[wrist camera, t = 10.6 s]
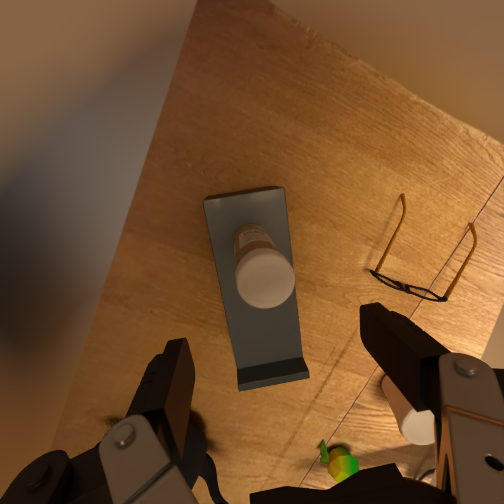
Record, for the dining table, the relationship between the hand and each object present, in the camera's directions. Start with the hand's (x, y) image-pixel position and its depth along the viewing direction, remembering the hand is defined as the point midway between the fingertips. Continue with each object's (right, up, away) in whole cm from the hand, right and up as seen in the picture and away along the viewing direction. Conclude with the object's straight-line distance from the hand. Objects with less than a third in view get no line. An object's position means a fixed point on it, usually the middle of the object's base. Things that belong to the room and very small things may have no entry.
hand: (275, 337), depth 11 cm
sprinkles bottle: (-1, +5, +20) cm, 21 cm away
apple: (+17, -40, +43) cm, 61 cm away
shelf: (-1, +1, +30) cm, 30 cm away
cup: (+28, -22, +39) cm, 53 cm away
